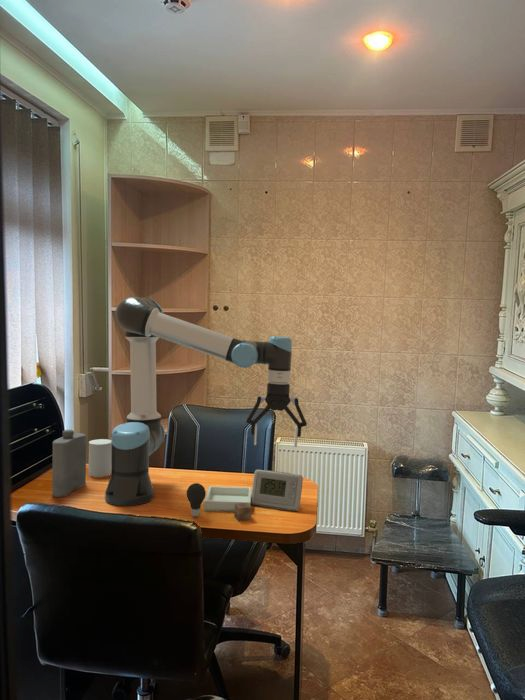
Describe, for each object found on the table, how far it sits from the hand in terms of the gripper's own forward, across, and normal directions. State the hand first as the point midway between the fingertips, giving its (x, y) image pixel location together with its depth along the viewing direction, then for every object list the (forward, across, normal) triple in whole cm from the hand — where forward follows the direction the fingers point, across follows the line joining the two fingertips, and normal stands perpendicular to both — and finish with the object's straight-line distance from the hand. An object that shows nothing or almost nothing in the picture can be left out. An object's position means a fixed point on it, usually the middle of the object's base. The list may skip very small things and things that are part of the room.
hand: (275, 445), depth 175 cm
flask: (+18, -68, -3) cm, 71 cm away
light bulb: (+17, -23, -23) cm, 37 cm away
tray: (+17, -14, -11) cm, 25 cm away
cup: (+18, -63, +15) cm, 67 cm away
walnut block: (+17, -9, -23) cm, 30 cm away
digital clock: (+17, +1, -12) cm, 21 cm away
